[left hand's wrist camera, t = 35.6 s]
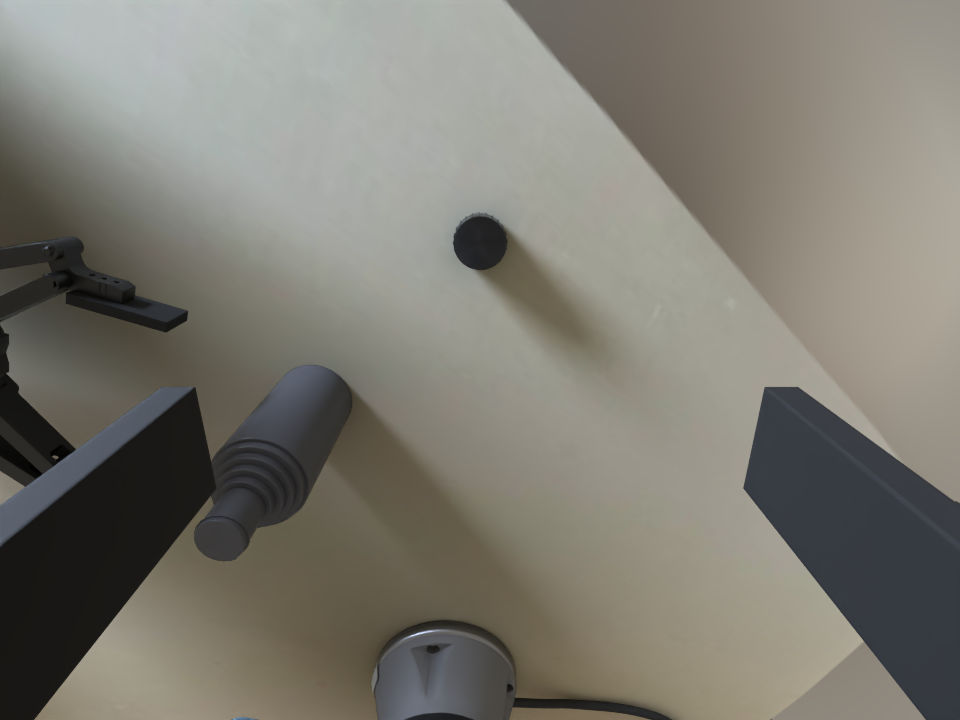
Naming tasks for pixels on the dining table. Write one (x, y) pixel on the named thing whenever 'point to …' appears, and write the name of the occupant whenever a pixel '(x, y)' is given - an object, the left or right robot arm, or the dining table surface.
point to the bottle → (273, 459)
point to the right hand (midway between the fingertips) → (168, 405)
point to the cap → (480, 241)
